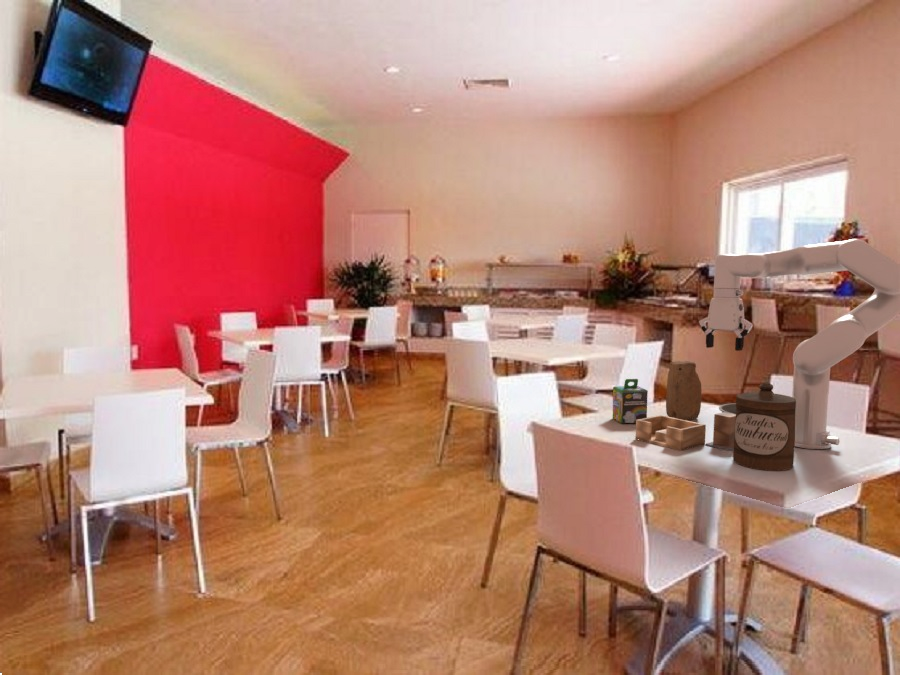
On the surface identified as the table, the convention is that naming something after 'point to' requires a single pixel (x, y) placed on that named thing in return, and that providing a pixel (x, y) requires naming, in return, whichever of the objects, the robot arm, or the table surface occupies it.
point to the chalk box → (629, 402)
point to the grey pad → (720, 446)
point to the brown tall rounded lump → (683, 391)
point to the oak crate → (670, 432)
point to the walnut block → (724, 429)
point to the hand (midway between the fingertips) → (724, 348)
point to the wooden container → (764, 430)
